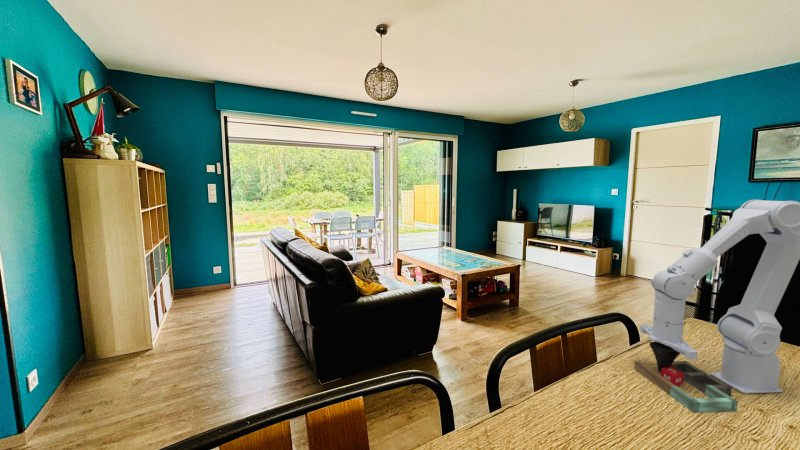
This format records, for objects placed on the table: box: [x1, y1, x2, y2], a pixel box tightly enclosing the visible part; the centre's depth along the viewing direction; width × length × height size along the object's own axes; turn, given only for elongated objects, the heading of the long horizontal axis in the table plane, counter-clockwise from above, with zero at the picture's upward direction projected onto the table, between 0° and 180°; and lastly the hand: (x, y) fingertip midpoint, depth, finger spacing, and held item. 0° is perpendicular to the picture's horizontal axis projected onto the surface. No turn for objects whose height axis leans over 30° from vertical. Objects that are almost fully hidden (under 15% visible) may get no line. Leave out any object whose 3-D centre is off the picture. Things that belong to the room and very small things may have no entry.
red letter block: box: [660, 367, 684, 387], centre depth 79 cm, size 3×3×3 cm
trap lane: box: [633, 360, 738, 413], centre depth 77 cm, size 13×17×2 cm
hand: (663, 372), depth 81 cm, fingers closed
